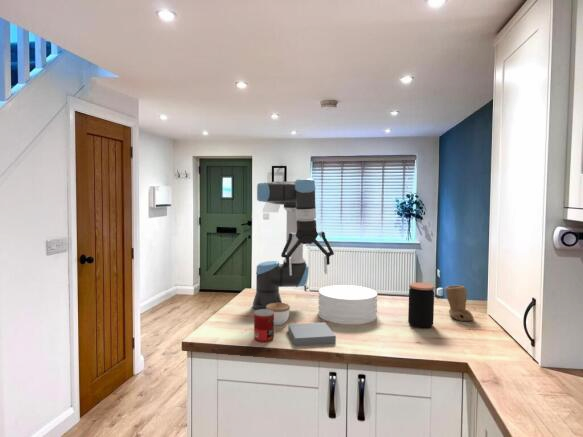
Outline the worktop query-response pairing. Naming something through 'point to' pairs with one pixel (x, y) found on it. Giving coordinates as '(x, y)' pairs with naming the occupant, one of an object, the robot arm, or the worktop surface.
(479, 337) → the worktop surface
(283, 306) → the lidded jar
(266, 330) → the canned food
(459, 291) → the brown boot
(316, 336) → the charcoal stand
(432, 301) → the coffee jar
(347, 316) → the plate stack
